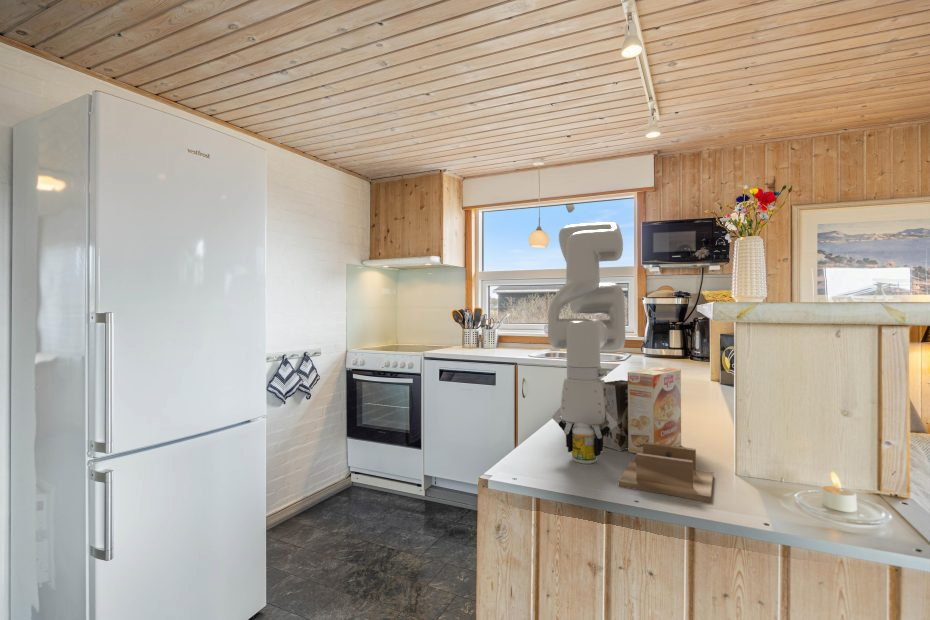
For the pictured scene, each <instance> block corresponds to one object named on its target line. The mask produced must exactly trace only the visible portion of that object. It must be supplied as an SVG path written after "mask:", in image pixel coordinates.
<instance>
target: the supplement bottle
mask: <svg viewBox="0 0 930 620" xmlns="http://www.w3.org/2000/svg"><path fill="white" fill-rule="evenodd" d="M575 424H576V426H575V427H573V430H572V442H573V451H572V459H573V462H576V463H578V464H583V465H585V464H586V465H588V464H589V465H590V464H594V463H596V462H597V459H598V456H595V453H594V439H595V438H596V433H595V430H594V428H593V427H592V426H593V425H587V424H584V423H575Z"/></svg>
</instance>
